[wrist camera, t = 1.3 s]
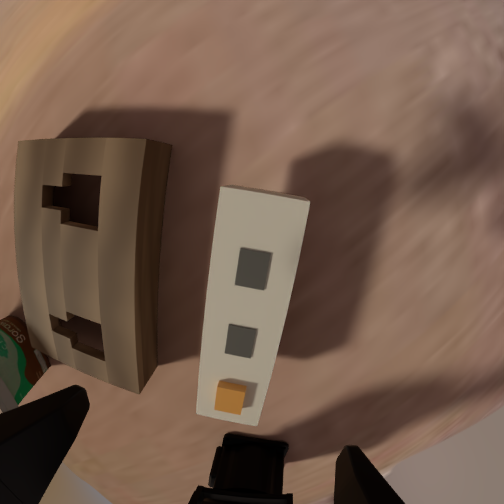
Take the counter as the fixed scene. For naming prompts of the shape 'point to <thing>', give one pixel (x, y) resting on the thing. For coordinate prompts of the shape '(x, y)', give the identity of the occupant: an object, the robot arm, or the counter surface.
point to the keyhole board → (93, 252)
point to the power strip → (247, 298)
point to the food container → (18, 363)
